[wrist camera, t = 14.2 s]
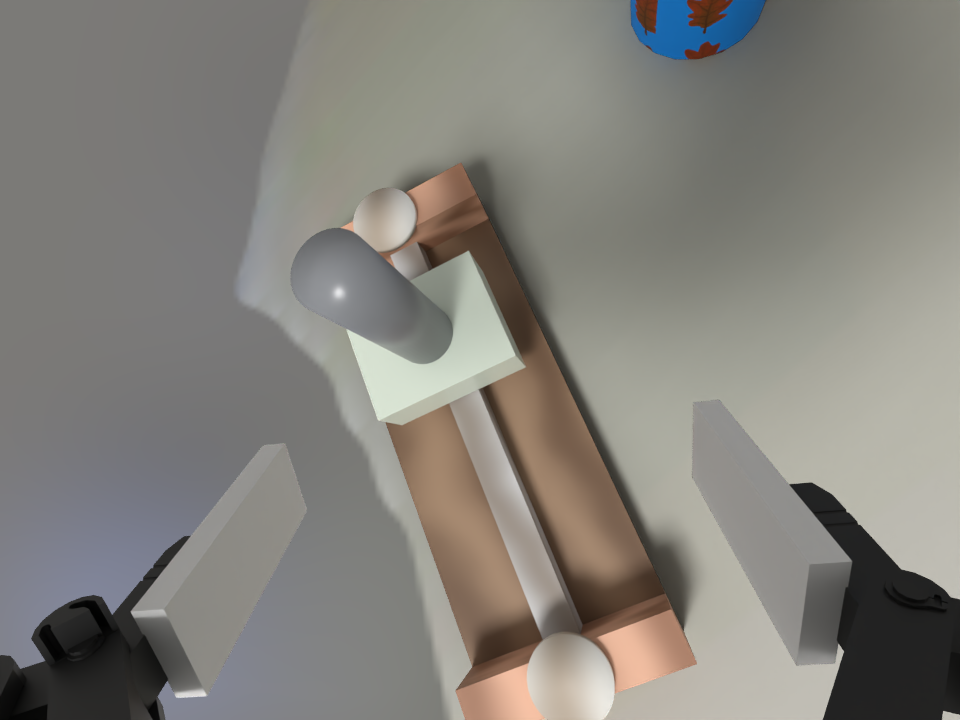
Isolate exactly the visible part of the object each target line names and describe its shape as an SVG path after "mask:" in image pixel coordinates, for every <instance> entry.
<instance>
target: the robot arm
mask: <svg viewBox="0 0 960 720" xmlns="http://www.w3.org/2000/svg"><path fill="white" fill-rule="evenodd" d="M692 478H693V480H694V481H695V483H696V485H697V487H698V489H699V490H700V492H701V494H702V496H703V498H704V499H705V501H706V503H707V505H708V507H709V509H710V510H711V512H712V514H713V516H714V518H715V519H716V521H717V523H718V525H719V527H720V528H721V530H722V532H723V534H724V536H725V537H726V539H727V541H728V543H729V545H730V546H731V548H732V550H733V552H734V554H735V556H736V557H737V559H738V561H739V563H740V565H741V566H742V568H743V570H744V572H745V574H746V575H747V577H748V579H749V581H750V583H751V584H752V586H753V588H754V590H755V592H756V593H757V595H758V597H759V599H760V601H761V602H762V604H763V606H764V608H765V610H766V612H767V613H768V615H769V617H770V619H771V621H772V622H773V624H774V626H775V628H776V630H777V631H778V633H779V635H780V637H781V639H782V640H783V642H784V644H785V646H786V648H787V649H788V651H789V653H790V655H791V657H792V659H793V660H794V662H795V664H796V665H815V664H834V663H835V660H836V654H837V648H838V643H839V644H840V646H841V647H842V649H843V650H844V654H843V657H842V660H841V663H840V667H839V670H838V673H837V676H836V679H835V683H834V686H833V689H832V692H831V695H830V699H829V702H828V705H827V708H826V711H825V715H824V718H823V720H942V714H943V711H947V712H951V713H955V714H959V715H960V599H955V598H951V597H950V596H949V595H948V594H947V592H946V591H945V590H944V589H942V588H941V587H940V586H938V585H937V584H935V583H934V582H933V581H931V580H929V579H927V578H925V577H923V576H921V575H918V574H916V573H913V572H909V571H905V570H901V569H900V568H899V567H898V565H897V564H896V563H895V562H894V561H893V560H892V559H891V558H890V557H889V556H888V555H887V554H886V552H885V551H884V550H883V549H882V548H881V547H880V546H879V545H878V544H877V543H876V542H875V540H874V539H873V538H872V537H871V536H870V535H869V534H868V533H867V532H866V531H865V530H864V529H863V527H862V526H861V525H858V523H857V521H856V520H855V519H854V518H853V517H852V516H851V514H850V513H847V512H846V509H845V508H844V507H843V506H842V505H841V504H840V503H839V501H838V500H837V499H836V498H835V497H834V496H833V495H832V494H830V493H829V492H827V491H825V490H823V489H822V488H820V487H818V486H817V485H815V484H813V483H800V484H788V483H787V481H786V480H785V479H784V478H783V477H782V475H781V474H780V473H779V472H778V471H777V469H776V468H775V467H774V466H773V464H772V463H771V462H770V461H769V460H768V458H767V457H766V456H765V455H764V454H763V452H762V451H761V450H760V449H759V447H758V446H757V445H756V444H755V443H754V441H753V440H752V439H751V438H750V437H749V435H748V434H747V433H746V432H745V430H744V429H743V428H742V427H741V426H740V424H739V423H738V422H737V421H736V420H735V418H734V417H733V416H732V415H731V413H730V412H729V411H728V410H727V409H726V407H725V406H724V405H723V404H722V403H721V401H720V400H711V401H701V402H693V452H692ZM306 512H307V508H306V505H305V502H304V499H303V496H302V493H301V490H300V487H299V484H298V481H297V478H296V475H295V472H294V469H293V466H292V463H291V460H290V457H289V454H288V451H287V447H286V444H285V443H282V444H272V445H263V446H262V447H261V449H260V450H259V451H258V452H257V454H256V455H255V456H254V457H253V459H252V460H251V461H250V463H249V464H248V465H247V466H246V468H245V469H244V470H243V471H242V473H241V474H240V475H239V476H238V478H237V479H236V480H235V481H234V483H233V484H232V485H231V486H230V488H229V489H228V490H227V491H226V493H225V494H224V495H223V496H222V498H221V499H220V500H219V501H218V503H217V504H216V505H215V507H214V508H213V509H212V510H211V511H210V513H209V514H208V515H207V516H206V518H205V519H204V520H203V521H202V523H201V524H200V525H199V526H198V528H197V529H196V530H195V532H194V533H193V534H192V535H191V536H184V537H183V538H181V539H180V540H179V541H177V542H176V543H175V544H173V545H172V546H171V547H170V548H168V549H167V550H166V551H165V552H164V553H163V555H162V556H161V557H160V558H159V559H158V561H157V562H156V563H155V564H154V567H153V568H151V569H150V570H149V571H148V573H147V574H146V575H145V576H144V577H143V581H140V582H139V583H138V585H137V586H136V587H135V588H134V589H133V591H132V592H131V593H130V594H129V596H128V597H127V598H126V599H125V600H124V602H123V603H122V604H121V605H120V606H119V608H118V609H117V610H116V611H115V613H114V614H113V615H112V614H111V612H110V611H109V609H108V607H107V605H106V603H105V602H104V600H103V598H102V597H99V596H95V595H92V596H86V597H81V598H79V599H76V600H74V601H71V602H69V603H67V604H65V605H64V606H62V607H60V608H58V609H57V610H55V611H54V612H53V613H51V614H50V615H49V616H48V617H46V618H45V619H44V620H43V621H42V622H41V623H40V625H39V626H38V627H37V628H36V629H35V631H34V634H33V636H32V638H31V639H32V641H33V642H34V644H35V645H36V647H37V648H38V650H39V651H40V653H41V654H42V656H43V658H44V659H45V661H44V662H41V663H38V664H34V665H32V666H29V667H25V668H22V669H20V668H19V667H18V665H17V664H16V662H15V661H14V660H13V658H11V656H5V655H1V656H0V720H165V715H164V710H163V706H162V704H161V702H160V700H159V699H158V697H157V696H158V695H159V693H160V691H161V690H162V688H163V687H164V685H165V683H166V682H167V681H168V682H169V684H170V686H171V688H172V690H173V692H174V694H175V696H176V697H177V698H180V697H199V696H208V694H209V692H210V690H211V688H212V686H213V685H214V683H215V681H216V679H217V677H218V675H219V673H220V672H221V670H222V668H223V666H224V664H225V662H226V660H227V659H228V657H229V655H230V653H231V651H232V649H233V647H234V646H235V644H236V642H237V640H238V638H239V636H240V634H241V633H242V630H243V629H244V627H245V625H246V623H247V621H248V619H249V618H250V616H251V614H252V612H253V610H254V608H255V606H256V605H257V603H258V601H259V599H260V597H261V595H262V593H263V592H264V590H265V588H266V586H267V584H268V582H269V580H270V579H271V577H272V575H273V573H274V571H275V569H276V567H277V566H278V564H279V562H280V560H281V558H282V556H283V554H284V553H285V551H286V549H287V547H288V545H289V543H290V541H291V540H292V537H293V536H294V534H295V532H296V530H297V528H298V526H299V524H300V523H301V521H302V519H303V517H304V515H305V513H306Z"/></svg>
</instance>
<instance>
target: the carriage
mask: <svg viewBox="0 0 960 720" xmlns="http://www.w3.org/2000/svg"><path fill="white" fill-rule="evenodd" d="M291 286H292V290H293V293H294V295H295V297H296V298H297V300H298V301H299V302H300V303H301V304H302V305H303V306H304V307H306V308H307V309H309V310H311V311H313V312H315V313H317V314H318V315H320V316H322V317H324V318H326V319H328V320H330V321H332V322H334V323H336V324H338V325H340V326H342V327H344V328H346V330H347V333H348V336H349V339H350V342H351V344H352V347H353V350H354V353H355V356H356V359H357V361H358V364H359V367H360V370H361V373H362V376H363V378H364V381H365V384H366V387H367V390H368V393H369V396H370V398H371V401H372V404H373V407H374V410H375V413H376V415H377V418H378V421H383V422H388V423H393V424H398V425H404V424H406V423H408V422H410V421H412V420H414V419H416V418H418V417H421V416H423V415H425V414H427V413H429V412H431V411H433V410H436V409H438V408H440V407H442V406H444V405H446V404H448V403H451V402H453V401H455V400H457V399H459V398H461V397H463V396H465V395H468V394H470V393H472V392H474V391H476V390H478V389H480V388H483V387H485V386H487V385H489V384H491V383H493V382H495V381H497V380H500V379H502V378H504V377H506V376H508V375H510V374H512V373H515V372H517V371H519V370H521V369H523V368H525V367H526V366H525V364H524V361H523V359H522V357H521V355H520V352H519V350H518V348H517V346H516V344H515V341H514V339H513V337H512V335H511V333H510V330H509V328H508V326H507V324H506V321H505V319H504V317H503V315H502V313H501V310H500V308H499V306H498V304H497V302H496V299H495V297H494V295H493V293H492V291H491V288H490V286H489V284H488V282H487V279H486V277H485V275H484V273H483V271H482V270H481V268H480V267H479V265H478V264H477V262H476V261H475V259H474V258H473V256H472V255H471V253H470V252H469V251H467V252H465V253H463V254H461V255H459V256H457V257H455V258H453V259H451V260H449V261H448V262H446V263H444V264H442V265H440V266H438V267H436V268H434V269H432V270H430V271H428V272H426V273H424V274H422V275H420V276H418V277H416V278H414V279H412V280H410V281H409V280H408V279H407V278H406V277H404V276H403V275H402V274H401V273H400V272H399V271H398V270H397V269H396V268H394V267H393V266H392V265H391V264H390V263H389V262H388V261H387V260H386V259H384V258H383V257H382V256H381V255H380V254H379V253H378V252H377V251H376V250H374V249H373V248H372V247H371V246H370V245H369V244H368V243H367V242H366V241H364V240H363V239H362V238H361V237H360V236H359V235H357V234H356V233H354V232H353V231H350V230H348V229H343V228H332V229H327V230H324V231H321V232H319V233H317V234H315V235H314V236H312V237H311V238H310V239H308V240H307V241H306V242H305V243H304V244H303V246H302V247H301V248H300V250H299V251H298V253H297V254H296V256H295V259H294V261H293V264H292V268H291Z"/></svg>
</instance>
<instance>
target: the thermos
mask: <svg viewBox="0 0 960 720" xmlns="http://www.w3.org/2000/svg"><path fill="white" fill-rule="evenodd" d="M765 1H766V0H631V25H632V27H633V29H634V31H635V33H636V35H637V37H638V39H639V41H640V42H642V43H643V44H644V45H645V46H647V47H648V48H649V49H650V50H652V51H653V52H654V53H657V54H660V55H663V56H666V57H670V58H673V59H700V58H704V57H707V56H710V55H714V54H717V53H721V52H723V51H724V50H726V49H728V48H729V47H731V46H732V45H734V44H736V43H737V42H739V41H740V40H742V39H743V38H744V37H745V36H746V34H747V33H748V32H749V31H750V30H751V28H752V27H753V26H754V25H755V24H756V23H757V21H758V19H759V16H760V13H761V11H762V8H763V6H764V3H765Z"/></svg>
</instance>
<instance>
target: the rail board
mask: <svg viewBox="0 0 960 720" xmlns="http://www.w3.org/2000/svg"><path fill="white" fill-rule="evenodd" d="M341 228H343V229H348V230H350V231H353V232H354V233H356V234H357V235H359V236H360V237H361V238H362V239H363V240H364V241H366V242H367V243H368V244H369V245H370V246H371V247H372V248H373V249H374V250H376V251H377V252H378V253H379V254H380V255H381V256H382V257H383V258H384V259H386V260H387V261H388V262H389V263H390V264H391V265H392V266H393V267H394V268H396V269H397V270H398V271H399V272H400V273H401V274H402V275H403V276H404V277H406V278H407V279H408V280H409V281H410V280H412V279H414V278H416V277H418V276H420V275H422V274H424V273H426V272H428V271H430V270H432V269H434V268H436V267H438V266H440V265H442V264H444V263H446V262H448V261H449V260H451V259H453V258H455V257H457V256H459V255H461V254H463V253H465V252H467V251H469V252H470V253H471V255H472V256H473V258H474V259H475V261H476V262H477V264H478V265H479V267H480V268H481V270H482V271H483V273H484V275H485V277H486V279H487V282H488V284H489V286H490V288H491V291H492V293H493V295H494V297H495V299H496V302H497V304H498V306H499V308H500V310H501V313H502V315H503V317H504V319H505V321H506V324H507V326H508V328H509V330H510V333H511V335H512V337H513V339H514V341H515V344H516V346H517V348H518V350H519V352H520V355H521V357H522V359H523V361H524V364H525V366H526V367H525V368H523V369H521V370H519V371H517V372H515V373H512V374H510V375H508V376H506V377H504V378H502V379H500V380H497V381H495V382H493V383H491V384H489V385H487V386H485V387H483V388H480V389H478V390H476V391H474V392H472V393H470V394H468V395H465V396H463V397H461V398H459V399H457V400H455V401H453V402H451V403H448V404H446V405H444V406H442V407H440V408H438V409H436V410H433V411H431V412H429V413H427V414H425V415H423V416H421V417H418V418H416V419H414V420H412V421H410V422H408V423H406V424H404V425H398V424H393V423H388V422H386V425H387V428H388V431H389V434H390V436H391V439H392V442H393V445H394V448H395V450H396V453H397V456H398V459H399V462H400V464H401V467H402V470H403V473H404V476H405V479H406V481H407V484H408V487H409V490H410V493H411V495H412V498H413V501H414V504H415V507H416V509H417V512H418V515H419V518H420V521H421V524H422V526H423V529H424V532H425V535H426V538H427V540H428V543H429V546H430V549H431V552H432V554H433V557H434V560H435V563H436V566H437V569H438V571H439V574H440V577H441V580H442V583H443V585H444V588H445V591H446V594H447V597H448V599H449V602H450V605H451V608H452V611H453V614H454V616H455V619H456V622H457V625H458V628H459V630H460V633H461V636H462V639H463V642H464V644H465V647H466V650H467V653H468V656H469V659H470V661H471V664H472V668H471V670H470V671H469V673H468V674H467V675H466V677H465V678H464V680H463V681H462V682H461V684H460V685H459V687H458V688H457V689H456V694H457V696H458V699H459V702H460V705H461V708H462V711H463V714H464V717H465V720H542V719H545V718H546V719H547V720H603V719H604V718H605V717H606V715H607V714H608V712H609V711H610V708H611V706H612V703H613V700H614V694H615V693H617V692H620V691H623V690H626V689H628V688H631V687H634V686H637V685H640V684H642V683H645V682H648V681H651V680H654V679H656V678H659V677H662V676H665V675H668V674H670V673H673V672H676V671H679V670H681V669H684V668H687V667H690V666H693V665H695V664H697V662H696V660H695V658H694V655H693V653H692V650H691V648H690V645H689V643H688V641H687V638H686V636H685V633H684V631H683V629H682V627H681V625H680V623H679V620H678V618H677V616H676V614H675V612H674V610H673V608H672V606H671V604H670V601H669V599H668V597H667V595H666V593H665V591H664V589H663V587H662V584H661V582H660V580H659V578H658V576H657V574H656V572H655V570H654V567H653V565H652V563H651V561H650V559H649V557H648V555H647V553H646V551H645V548H644V546H643V544H642V542H641V540H640V538H639V536H638V534H637V531H636V529H635V527H634V525H633V523H632V521H631V519H630V517H629V515H628V512H627V510H626V508H625V506H624V504H623V502H622V500H621V498H620V495H619V493H618V491H617V489H616V487H615V485H614V483H613V481H612V478H611V476H610V474H609V472H608V470H607V468H606V466H605V464H604V462H603V459H602V457H601V455H600V453H599V451H598V449H597V447H596V445H595V442H594V440H593V438H592V436H591V434H590V432H589V430H588V428H587V425H586V423H585V421H584V419H583V417H582V415H581V413H580V411H579V409H578V406H577V404H576V402H575V400H574V398H573V396H572V394H571V392H570V389H569V387H568V385H567V383H566V381H565V379H564V377H563V375H562V373H561V370H560V368H559V366H558V364H557V362H556V360H555V358H554V356H553V353H552V351H551V349H550V347H549V345H548V343H547V341H546V339H545V336H544V334H543V332H542V330H541V328H540V326H539V324H538V322H537V320H536V317H535V315H534V313H533V311H532V309H531V307H530V305H529V303H528V300H527V298H526V296H525V294H524V292H523V290H522V288H521V286H520V284H519V281H518V279H517V277H516V275H515V273H514V271H513V269H512V267H511V264H510V262H509V260H508V258H507V256H506V254H505V252H504V250H503V247H502V245H501V243H500V241H499V239H498V237H497V235H496V233H495V231H494V228H493V226H492V224H491V222H490V220H489V218H488V216H487V214H486V211H485V209H484V207H483V205H482V203H481V201H480V199H479V197H478V195H477V193H476V191H475V189H474V187H473V185H472V183H471V181H470V179H469V177H468V175H467V173H466V171H465V169H464V167H463V165H462V163H459V164H457V165H456V166H454V167H452V168H450V169H448V170H446V171H444V172H443V173H441V174H439V175H437V176H435V177H433V178H432V179H430V180H428V181H426V182H424V183H422V184H420V185H419V186H417V187H415V188H413V189H411V190H409V191H408V192H406V193H404V192H403V191H401V190H399V189H395V188H382V189H379V190H376V191H374V192H372V193H370V194H369V195H368V196H366V197H365V198H364V199H363V200H362V202H361V203H360V204H359V206H358V207H357V209H356V212H355V214H354V219H353V221H352V222H350V223H349V224H347V225H345V226H343V227H341Z"/></svg>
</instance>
